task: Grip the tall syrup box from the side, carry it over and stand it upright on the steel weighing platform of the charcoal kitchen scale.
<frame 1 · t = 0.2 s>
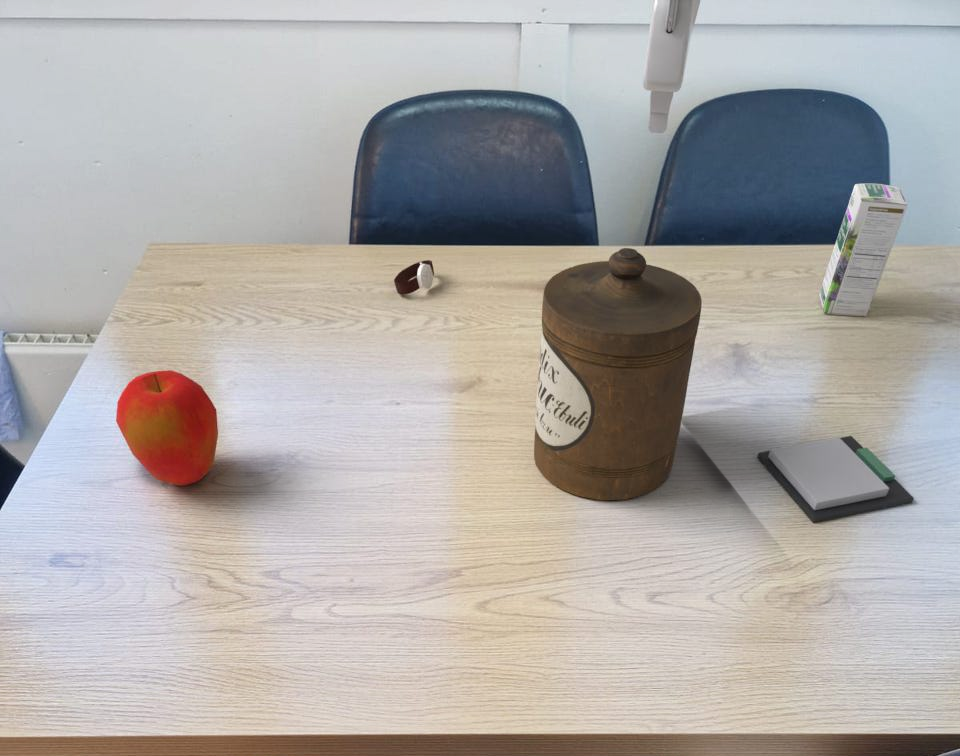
hand: (660, 115, 90), 25 cm above the table, tool pointing down, fingers open, 8 cm apart
syrup box: (842, 307, 116), on the table
watch: (415, 288, 119), on the table
wooden container: (601, 460, 92), on the table
scale: (826, 493, 88), on the table
apple: (186, 478, 90), on the table
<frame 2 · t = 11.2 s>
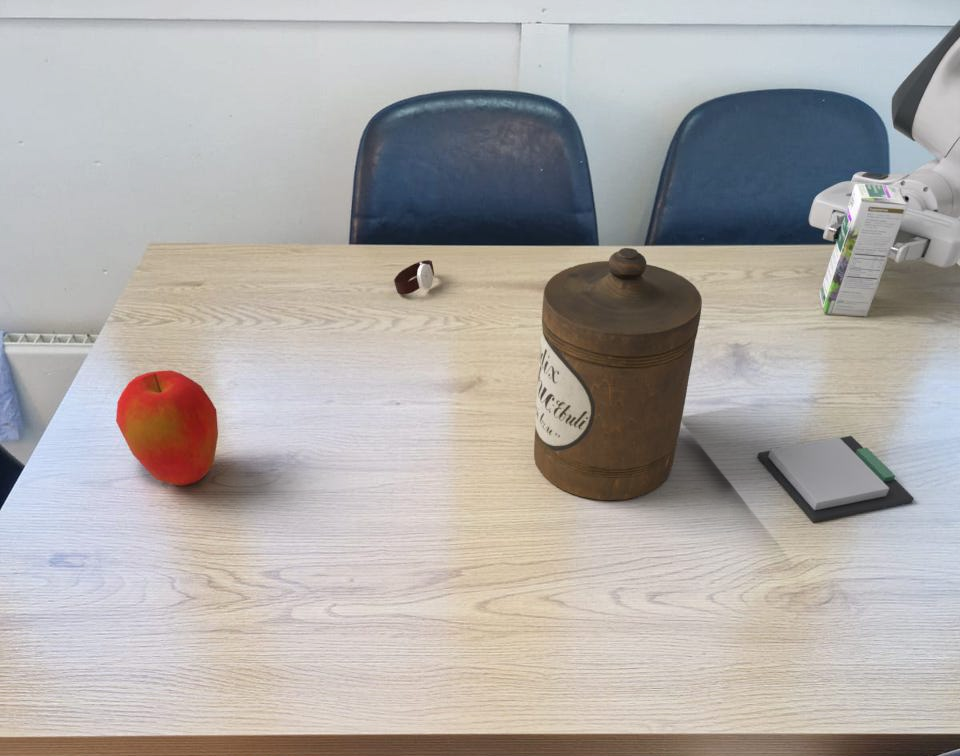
hand: (860, 244, 109), 8 cm above the table, tool horizontal, fingers closed on syrup box, 7 cm apart
syrup box: (842, 307, 116), on the table, touching gripper
everything else where it was.
when the fingers open (12 cm above the table, at t = 22.3 s): syrup box stays where it is, resting on scale.
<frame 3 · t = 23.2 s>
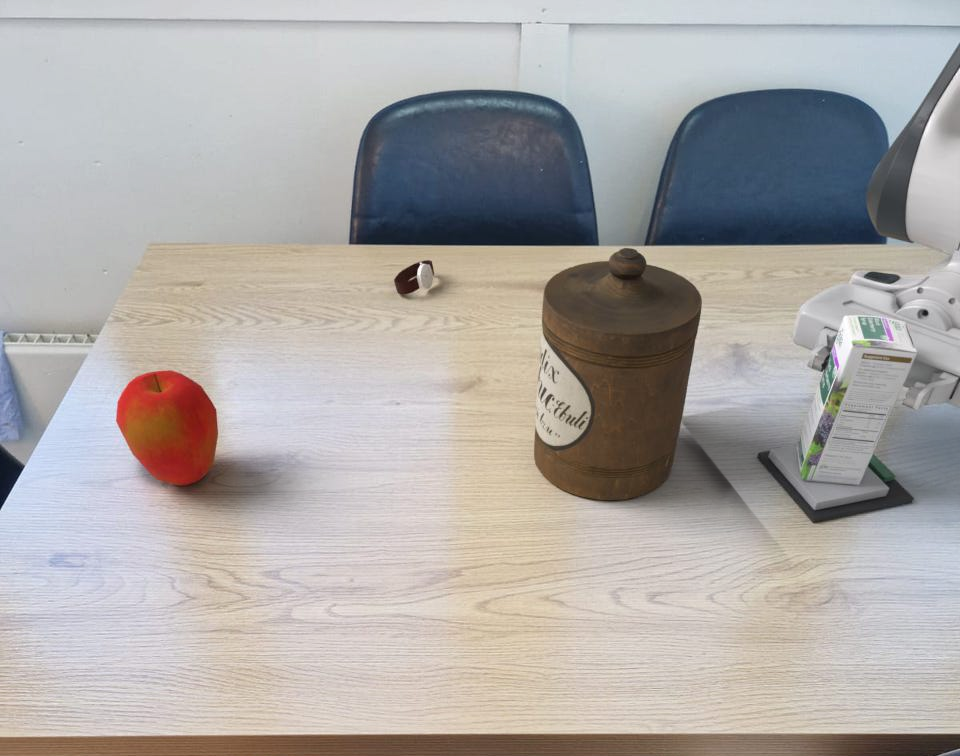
hand: (862, 381, 78), 13 cm above the table, tool horizontal, fingers open, 8 cm apart
syrup box: (826, 468, 86), point 3 cm above the table, touching gripper, scale
everything else where it was.
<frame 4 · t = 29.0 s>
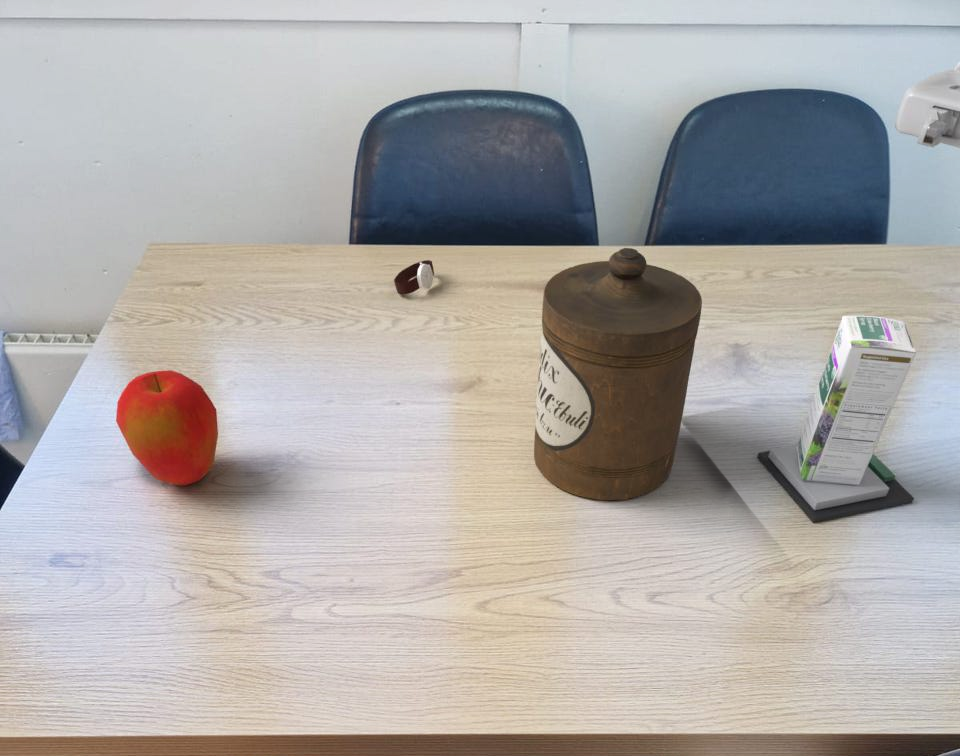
syrup box: (826, 468, 86), point 3 cm above the table, touching scale
everything else where it was.
at the end: syrup box inside the target area on the scale (0.2 cm from its centre), point 3.2 cm above the scale's base; syrup box tilted 0°; the gripper is holding nothing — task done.
